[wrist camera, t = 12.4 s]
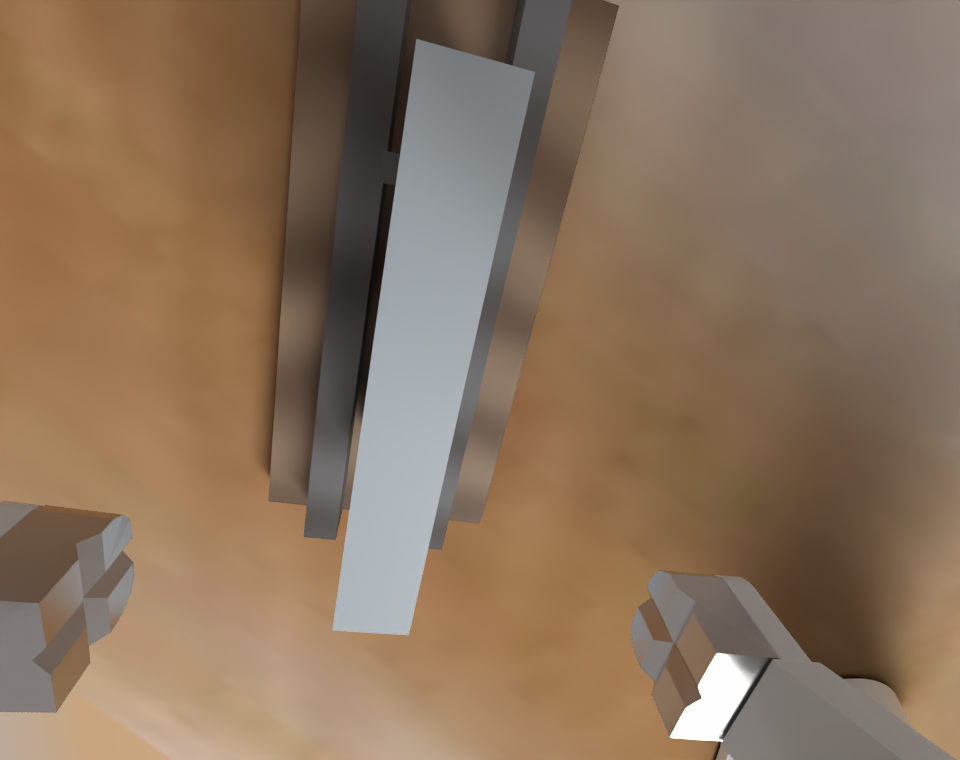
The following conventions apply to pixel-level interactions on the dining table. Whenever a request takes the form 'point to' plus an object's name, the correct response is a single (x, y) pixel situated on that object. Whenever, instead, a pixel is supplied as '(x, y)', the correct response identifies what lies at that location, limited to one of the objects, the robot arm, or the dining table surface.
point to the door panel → (426, 319)
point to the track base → (367, 215)
